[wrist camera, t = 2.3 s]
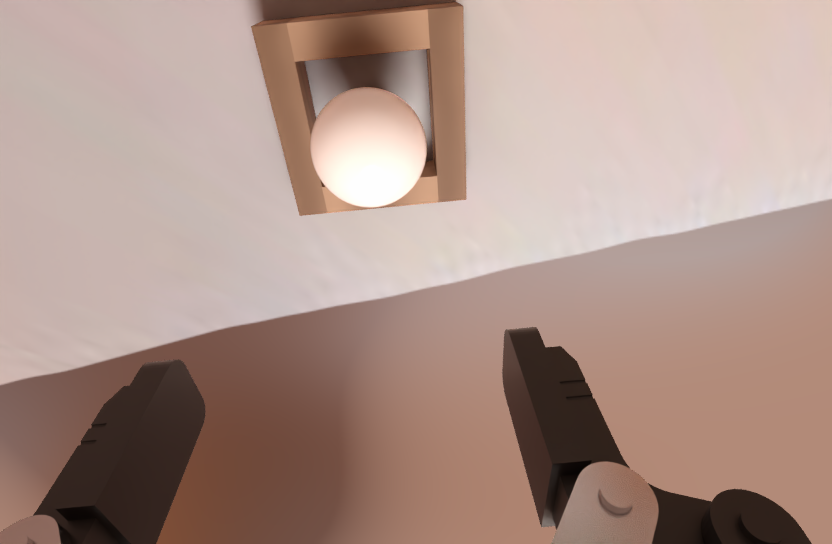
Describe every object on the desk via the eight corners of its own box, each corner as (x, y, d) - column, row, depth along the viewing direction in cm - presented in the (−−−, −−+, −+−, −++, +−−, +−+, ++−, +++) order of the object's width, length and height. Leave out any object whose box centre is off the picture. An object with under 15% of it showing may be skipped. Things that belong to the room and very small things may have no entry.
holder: (456, 2, 28) (463, 5, 25) (460, 182, 35) (466, 199, 32) (263, 20, 28) (251, 26, 25) (305, 197, 35) (299, 215, 32)
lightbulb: (357, 169, 34) (347, 246, 24) (307, 90, 30) (274, 146, 21) (433, 129, 32) (452, 194, 23) (390, 41, 29) (392, 78, 20)
